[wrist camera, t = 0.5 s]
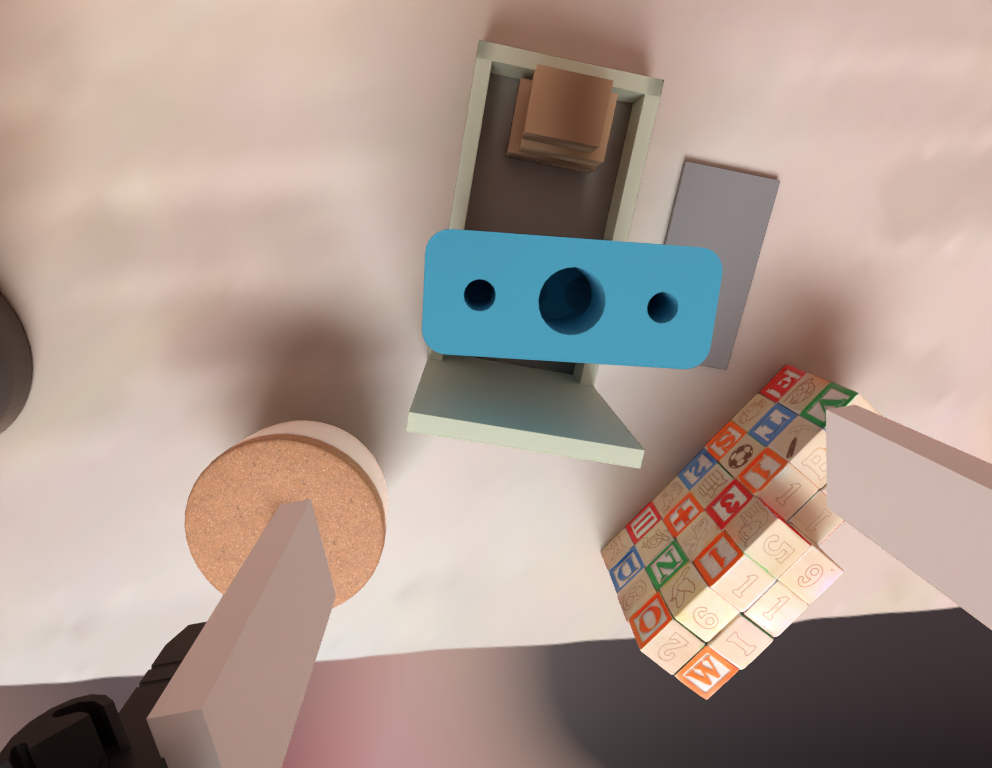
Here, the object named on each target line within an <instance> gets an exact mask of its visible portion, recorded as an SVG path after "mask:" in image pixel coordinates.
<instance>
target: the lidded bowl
mask: <svg viewBox="0 0 992 768" xmlns="http://www.w3.org/2000/svg"><path fill="white" fill-rule="evenodd" d="M309 499H311V501H312V505H313V509H314V512H315V516H316V520H317V524H318V528H319V532H320V535H321V539H322V543H323V547H324V551H325V555H326V558H327V562H328V566H329V570H330V574H331V578H332V581H333V585H334V589H335V593H336V597H335V600H334V603H333V606H332V608H334V607H336V606H338V605H340V604H342V603H344V602H345V601H347V600H348V599H350V598H351V597H353V596H354V595H355V594H356V593H357V592H358V591H359V590H360V589H361V588H362V587H363V586H364V585H365V584H366V583H367V581H368V580H369V579H370V577H371V576H372V575H373V573H374V571H375V569H376V567H377V565H378V563H379V560H380V557H381V553H382V550H383V547H384V541H385V534H386V527H387V519H388V493H387V488H386V484H385V479H384V476H383V473H382V471H381V468H380V466H379V464H378V463H377V461H376V459H375V458H374V456H373V455H372V454H371V452H370V451H369V450H368V449H367V448H366V446H365V445H363V444H362V443H361V442H360V441H359V440H358V439H357V438H355V437H354V436H352V435H351V434H349V433H348V432H346V431H344V430H342V429H340V428H338V427H335V426H333V425H329V424H326V423H322V422H316V421H309V420H300V421H289V422H283V423H279V424H275V425H272V426H269V427H266V428H264V429H262V430H260V431H258V432H256V433H254V434H252V435H250V436H248V437H246V438H244V439H243V440H242V441H240V442H239V443H238V444H236V445H235V446H233V447H231V448H229V449H228V450H227V451H225V452H224V453H222V454H221V455H220V456H218V457H217V458H216V459H215V460H214V461H212V462H211V464H210V465H209V466H208V467H207V468H206V469H205V470H204V471H203V472H202V473H201V475H200V476H199V478H198V479H197V481H196V482H195V484H194V486H193V488H192V490H191V493H190V495H189V497H188V502H187V506H186V511H185V531H186V539H187V543H188V546H189V549H190V552H191V555H192V557H193V559H194V560H195V562H196V564H197V566H198V568H199V569H200V571H201V572H202V573H203V575H204V576H205V578H206V579H207V580H208V581H209V582H210V583H211V584H212V585H213V586H214V587H215V588H216V589H217V590H218V591H219V592H221V593H222V594H223V595H224V594H225V592H226V590H227V589H228V587H229V586H230V584H231V582H232V581H233V579H234V578H235V576H236V574H237V573H238V571H239V570H240V568H241V566H242V565H243V563H244V562H245V560H246V558H247V557H248V555H249V554H250V552H251V550H252V549H253V547H254V546H255V544H256V542H257V541H258V539H259V538H260V536H261V534H262V533H263V531H264V530H265V528H266V526H267V525H268V523H269V522H270V520H271V518H272V517H273V515H274V513H275V512H276V510H277V509H278V507H279V505H280V504H286V503H291V502H297V501H303V500H309Z"/></svg>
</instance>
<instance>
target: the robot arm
mask: <svg viewBox="0 0 992 768" xmlns="http://www.w3.org/2000/svg"><path fill="white" fill-rule="evenodd" d="M31 378H32V362H31V354H30V349H29V345H28V341H27V338H26V335H25V333H24V330H23V328H22V326H21V324H20V322H19V320H18V318H17V316H16V314H15V313H14V311H13V310H12V308H11V307H10V305H9V304H8V302H7V301H6V300H5V299H4V297H3V296H2V295H1V294H0V434H1V433H2V432H3V431H5V430H6V429H7V428H8V427H9V426H10V425H11V424H12V423H13V422H14V421H15V419H16V418H17V417H18V415H19V414H20V412H21V410H22V409H23V407H24V405H25V402H26V400H27V397H28V394H29V390H30V386H31ZM826 470H827V508H828V509H830V510H831V511H832V512H834V513H835V514H836V515H838V516H839V517H840V518H842V519H843V520H844V521H846V522H847V523H849V524H850V525H851V526H853V527H854V528H855V529H857V530H858V531H859V532H861V533H862V534H863V535H865V536H866V537H867V538H869V539H870V540H871V541H873V542H874V543H875V544H877V545H878V546H879V547H881V548H882V549H883V550H885V551H886V552H888V553H889V554H890V555H892V556H893V557H894V558H896V559H897V560H898V561H900V562H901V563H902V564H904V565H905V566H906V567H908V568H909V569H910V570H912V571H913V572H914V573H916V574H917V575H918V576H920V577H921V578H922V579H924V580H925V581H927V582H928V583H929V584H931V585H932V586H933V587H935V588H936V589H937V590H939V591H940V592H941V593H943V594H944V595H945V596H947V597H948V598H949V599H951V600H952V601H953V602H955V603H956V604H957V605H959V606H960V607H961V608H963V609H964V610H966V611H967V612H968V613H970V614H971V615H972V616H974V617H975V618H976V619H978V620H979V621H980V622H982V623H983V624H984V625H986V626H987V627H988V628H990V629H991V630H992V464H990V463H988V462H986V461H983V460H981V459H979V458H976V457H974V456H972V455H970V454H967V453H965V452H963V451H960V450H958V449H956V448H954V447H951V446H949V445H947V444H944V443H942V442H940V441H938V440H935V439H933V438H931V437H928V436H926V435H924V434H921V433H919V432H917V431H915V430H912V429H910V428H908V427H905V426H903V425H901V424H899V423H896V422H894V421H892V420H889V419H887V418H885V417H883V416H880V415H878V414H876V413H873V412H871V411H869V410H866V409H864V408H862V407H860V406H857V405H850V406H844V407H838V408H833V409H827V410H826ZM335 597H336V593H335V589H334V585H333V581H332V578H331V574H330V570H329V566H328V562H327V558H326V555H325V551H324V547H323V543H322V539H321V535H320V532H319V528H318V524H317V520H316V516H315V512H314V509H313V505H312V501H311V499H309V500H303V501H297V502H291V503H286V504H280V505H279V507H278V509H277V510H276V512H275V513H274V515H273V517H272V518H271V520H270V522H269V523H268V525H267V526H266V528H265V530H264V531H263V533H262V534H261V536H260V538H259V539H258V541H257V542H256V544H255V546H254V547H253V549H252V550H251V552H250V554H249V555H248V557H247V558H246V560H245V562H244V563H243V565H242V566H241V568H240V570H239V571H238V573H237V574H236V576H235V578H234V579H233V581H232V582H231V584H230V586H229V587H228V589H227V590H226V592H225V594H224V595H223V597H222V598H221V600H220V602H219V603H218V605H217V607H216V608H215V610H214V611H213V613H212V615H211V616H210V618H209V619H208V621H207V622H203V623H197V624H192V625H188V626H187V627H186V628H185V629H184V630H182V631H181V632H180V633H179V634H178V635H177V636H175V637H174V638H173V639H172V640H171V641H170V642H169V643H167V644H166V645H165V647H164V648H163V650H162V651H161V653H160V654H159V655H158V657H157V658H156V660H155V661H154V663H153V664H152V669H151V670H148V671H147V673H146V674H145V676H144V677H143V679H142V680H141V682H140V683H139V684H140V686H139V687H138V688H136V689H135V690H134V692H133V693H132V695H131V696H130V698H129V699H128V701H127V702H126V704H125V705H124V706H123V708H122V709H121V711H120V712H119V714H118V712H117V710H116V707H115V704H114V702H113V700H111V699H110V698H109V697H107V696H106V695H95V694H91V695H86V696H82V697H78V698H74V699H71V700H69V701H67V702H64V703H62V704H60V705H58V706H55V707H53V708H51V709H49V710H48V711H46V712H45V713H43V714H42V715H40V716H38V717H37V718H35V719H34V720H32V721H31V722H29V723H28V724H27V725H26V726H25V727H23V728H22V729H21V730H20V731H19V732H18V733H17V734H15V735H14V736H13V737H12V738H11V739H10V741H9V742H8V743H7V745H6V746H5V747H4V749H3V750H2V751H1V753H0V768H281V767H282V764H283V761H284V758H285V755H286V751H287V748H288V745H289V742H290V739H291V736H292V733H293V729H294V726H295V723H296V720H297V717H298V713H299V710H300V707H301V704H302V701H303V697H304V694H305V691H306V688H307V685H308V682H309V679H310V676H311V673H312V669H313V666H314V663H315V660H316V657H317V654H318V650H319V647H320V644H321V641H322V638H323V635H324V632H325V628H326V625H327V622H328V619H329V616H330V613H331V609H332V606H333V603H334V600H335Z"/></svg>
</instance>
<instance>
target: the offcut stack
mask: <svg viewBox="0 0 992 768" xmlns="http://www.w3.org/2000/svg"><path fill="white" fill-rule="evenodd" d="M612 85H613V80H609V79H604V78H600V77H595V76H590V75H586V74H581V73H577V72H572V71H567V70H563V69H558V68H553V67H549V66H544V65H540V64H537V67H536V70H535V72H534V75H533V79H532V80H529V79H524V78H521V80H520V83H519V86H518V90H517V96H516V102H515V107H514V113H513V118H512V124H511V130H510V135H509V141H508V147H507V152H506V157H511V158H516V159H521V160H526V161H531V162H536V163H541V164H546V165H551V166H556V167H561V168H566V169H571V170H576V171H580V172H585V173H591V172H592V171H594V170H596V169H597V166H598V165H600V164H602V163H603V162H604V158H605V153H606V148H607V144H608V139H609V135H610V130H611V125H612V121H613V116H614V111H615V107H616V102H617V97H618V94H616V93H612V92H611V90H612Z"/></svg>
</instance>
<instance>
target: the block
mask: <svg viewBox="0 0 992 768" xmlns="http://www.w3.org/2000/svg"><path fill="white" fill-rule="evenodd" d="M722 270H723V268H722V263H721V261H720V259H719V257H718V256H717V255H716V254H715V253H714V252H713V251H711V250H710V249H707V248H702V247H690V246H676V245H662V244H649V243H635V242H622V241H608V240H594V239H581V238H567V237H553V236H540V235H526V234H513V233H499V232H485V231H472V230H458V229H445V230H442V231H439V232H438V233H436V234H435V235H433V237H432V238H431V239H430V240H429V242H428V244H427V246H426V252H425V271H424V295H423V319H422V333H423V337H424V340H425V342H426V343H427V345H428V346H429V347H430V348H431V349H432V350H433V351H436V352H438V353H440V354H446V355H462V356H479V357H495V358H511V359H527V360H544V361H560V362H576V363H593V364H609V365H625V366H642V367H658V368H674V369H690V368H693V367H696V366H698V365H699V364H701V363H702V362H703V361H704V360H705V359H706V357H707V356H708V354H709V351H710V348H711V342H712V336H713V329H714V323H715V317H716V311H717V305H718V298H719V292H720V286H721V280H722Z"/></svg>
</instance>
